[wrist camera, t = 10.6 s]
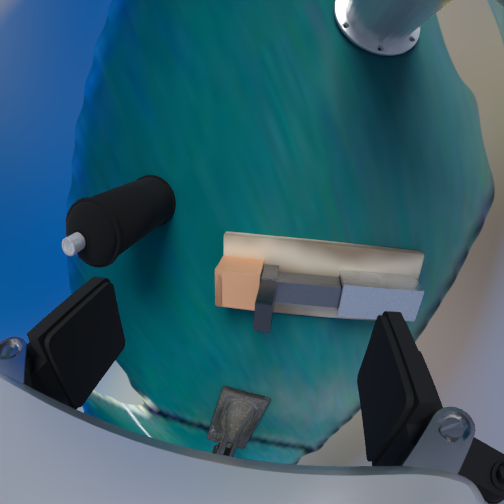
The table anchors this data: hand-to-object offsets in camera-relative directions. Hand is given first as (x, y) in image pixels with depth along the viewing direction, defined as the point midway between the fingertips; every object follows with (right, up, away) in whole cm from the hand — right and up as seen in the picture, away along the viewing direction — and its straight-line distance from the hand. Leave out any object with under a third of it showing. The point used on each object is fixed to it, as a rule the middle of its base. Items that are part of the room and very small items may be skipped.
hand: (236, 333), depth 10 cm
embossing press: (-3, -35, +51) cm, 62 cm away
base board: (+11, -1, +35) cm, 37 cm away
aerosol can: (-15, +11, +35) cm, 39 cm away
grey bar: (+7, -2, +34) cm, 35 cm away
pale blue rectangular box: (+19, -3, +33) cm, 38 cm away
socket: (-1, -1, +35) cm, 35 cm away
